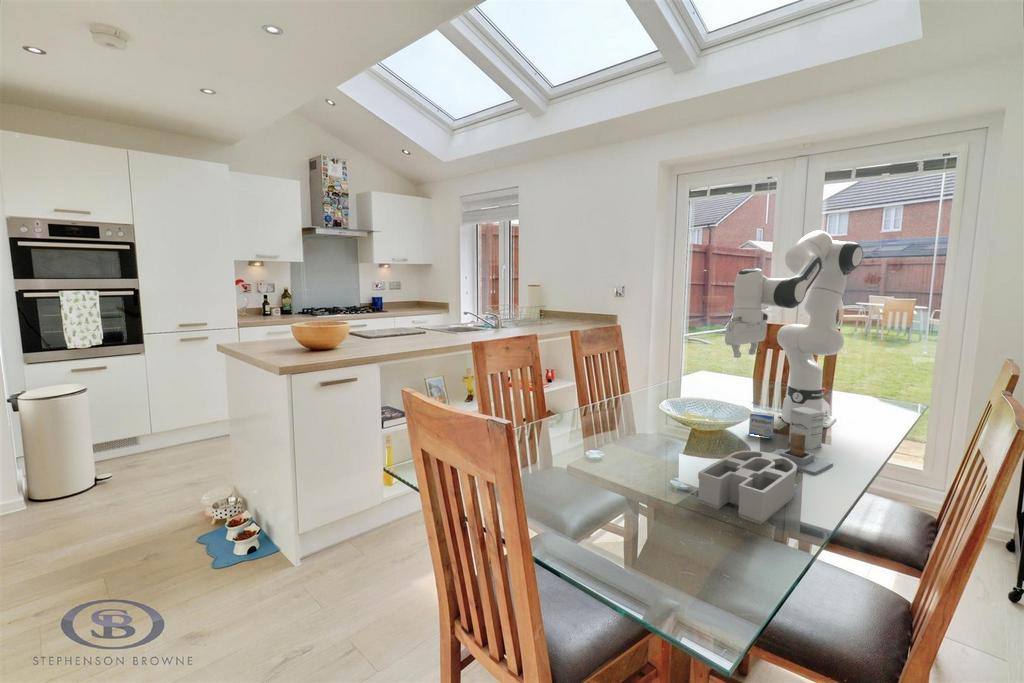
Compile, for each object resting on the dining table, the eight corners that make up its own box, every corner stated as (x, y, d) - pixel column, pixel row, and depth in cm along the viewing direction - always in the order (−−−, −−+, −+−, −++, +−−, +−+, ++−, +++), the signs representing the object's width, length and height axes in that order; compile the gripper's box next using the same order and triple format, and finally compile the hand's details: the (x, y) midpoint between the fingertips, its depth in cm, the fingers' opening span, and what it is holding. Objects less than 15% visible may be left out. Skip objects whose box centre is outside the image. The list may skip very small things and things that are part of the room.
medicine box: (748, 436, 181) (749, 413, 179) (749, 433, 185) (750, 410, 183) (772, 439, 177) (774, 416, 176) (772, 436, 181) (774, 413, 180)
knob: (793, 455, 158) (794, 431, 157) (806, 459, 155) (808, 434, 154) (786, 458, 156) (788, 433, 155) (800, 462, 153) (801, 437, 151)
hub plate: (780, 451, 165) (780, 442, 165) (832, 466, 152) (833, 456, 152) (761, 459, 158) (761, 450, 158) (814, 475, 146) (815, 465, 145)
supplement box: (787, 443, 173) (790, 408, 171) (802, 440, 176) (804, 406, 174) (807, 450, 166) (810, 413, 165) (822, 446, 169) (825, 411, 167)
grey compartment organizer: (696, 503, 129) (697, 472, 128) (743, 474, 148) (744, 446, 147) (762, 527, 117) (764, 492, 116) (804, 492, 135) (806, 462, 134)
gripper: (738, 318, 160) (736, 360, 162) (771, 315, 172) (768, 354, 174) (721, 317, 165) (719, 357, 167) (753, 314, 177) (751, 352, 179)
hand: (744, 356), depth 170 cm, fingers open, 8 cm apart
